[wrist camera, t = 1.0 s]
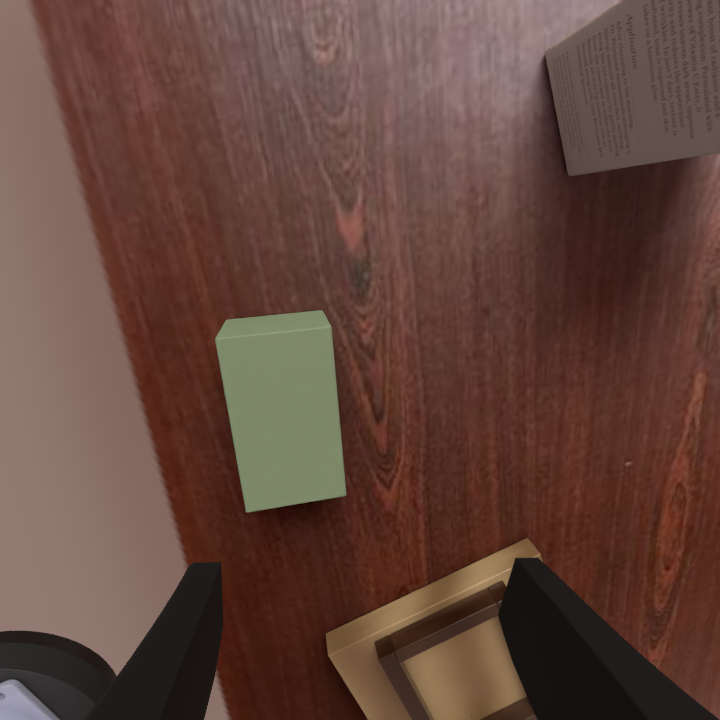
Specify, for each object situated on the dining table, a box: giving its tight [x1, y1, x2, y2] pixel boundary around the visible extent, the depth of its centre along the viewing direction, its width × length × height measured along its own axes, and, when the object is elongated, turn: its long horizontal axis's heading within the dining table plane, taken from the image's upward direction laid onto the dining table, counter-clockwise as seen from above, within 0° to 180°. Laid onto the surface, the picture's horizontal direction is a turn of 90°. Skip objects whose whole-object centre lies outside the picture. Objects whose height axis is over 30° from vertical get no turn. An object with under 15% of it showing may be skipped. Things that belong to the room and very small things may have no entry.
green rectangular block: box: [215, 310, 346, 513], centre depth 19 cm, size 4×8×4 cm, turn 4°
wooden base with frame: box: [326, 538, 543, 720], centre depth 27 cm, size 14×13×3 cm
